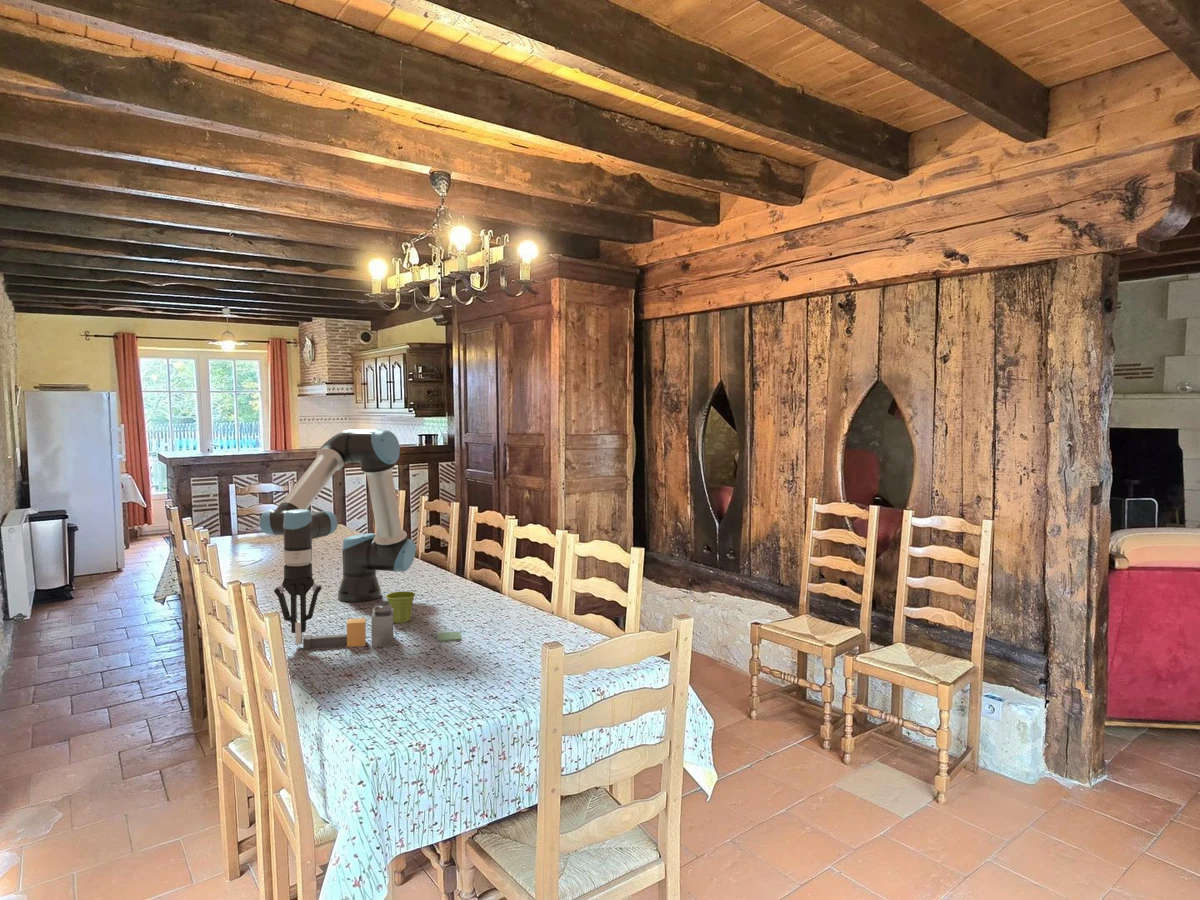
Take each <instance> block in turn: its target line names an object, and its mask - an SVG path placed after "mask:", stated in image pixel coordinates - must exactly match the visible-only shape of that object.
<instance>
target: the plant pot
mask: <svg viewBox="0 0 1200 900" xmlns="http://www.w3.org/2000/svg"><path fill="white" fill-rule="evenodd" d="M415 596H416V593H415V592H413V591H395V592H390V593H388V594H386V596H385V598H386V600H387V602H388V604H391V608H393V623H394V624H404V623H407V622H410V621H411V618H412V612H413V611H412V610H413V602H414V598H415Z"/></svg>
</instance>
